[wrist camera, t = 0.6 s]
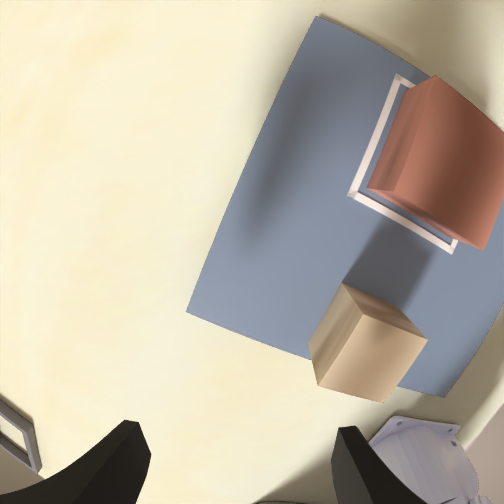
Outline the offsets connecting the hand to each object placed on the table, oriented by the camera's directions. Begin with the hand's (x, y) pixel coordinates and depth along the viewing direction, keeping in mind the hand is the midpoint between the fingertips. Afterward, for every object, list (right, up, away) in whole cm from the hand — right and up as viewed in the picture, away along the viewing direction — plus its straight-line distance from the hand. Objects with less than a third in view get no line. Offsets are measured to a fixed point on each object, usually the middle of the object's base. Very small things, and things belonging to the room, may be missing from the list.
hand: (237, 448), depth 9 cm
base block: (+10, +12, +5) cm, 16 cm away
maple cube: (+6, +3, +7) cm, 10 cm away
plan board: (+10, +8, +7) cm, 14 cm away
